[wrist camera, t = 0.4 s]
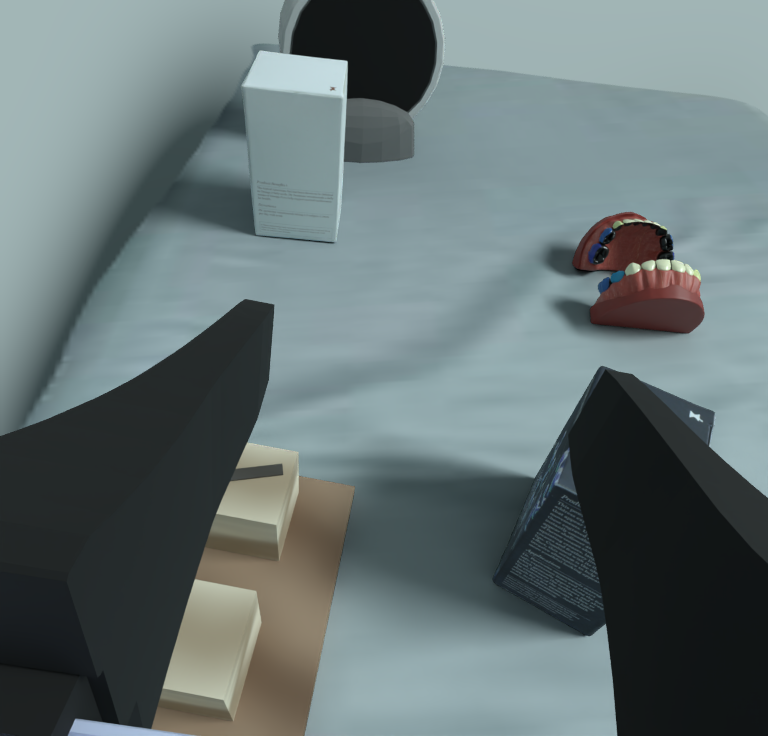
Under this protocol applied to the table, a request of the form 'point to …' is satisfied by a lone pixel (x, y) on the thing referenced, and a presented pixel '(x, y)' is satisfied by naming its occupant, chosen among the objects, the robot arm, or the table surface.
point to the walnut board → (280, 617)
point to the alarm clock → (373, 65)
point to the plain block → (212, 651)
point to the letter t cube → (257, 503)
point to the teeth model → (640, 276)
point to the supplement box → (296, 144)
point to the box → (568, 530)
